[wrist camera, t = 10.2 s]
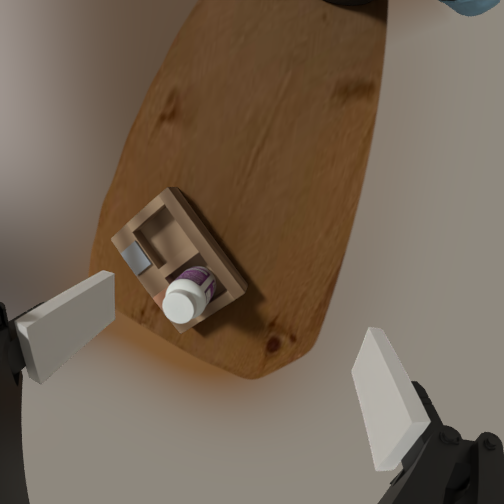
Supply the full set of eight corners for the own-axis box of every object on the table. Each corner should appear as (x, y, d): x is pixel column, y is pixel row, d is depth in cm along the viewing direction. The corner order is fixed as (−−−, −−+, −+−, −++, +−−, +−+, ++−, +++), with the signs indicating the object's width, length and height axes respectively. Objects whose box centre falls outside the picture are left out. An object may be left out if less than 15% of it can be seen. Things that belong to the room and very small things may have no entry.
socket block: (176, 187, 40) (166, 187, 37) (248, 284, 42) (244, 294, 39) (122, 235, 43) (109, 239, 39) (187, 323, 45) (179, 335, 41)
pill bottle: (175, 278, 42) (147, 302, 33) (201, 257, 41) (177, 277, 32) (198, 306, 43) (177, 336, 34) (224, 287, 42) (208, 314, 32)
